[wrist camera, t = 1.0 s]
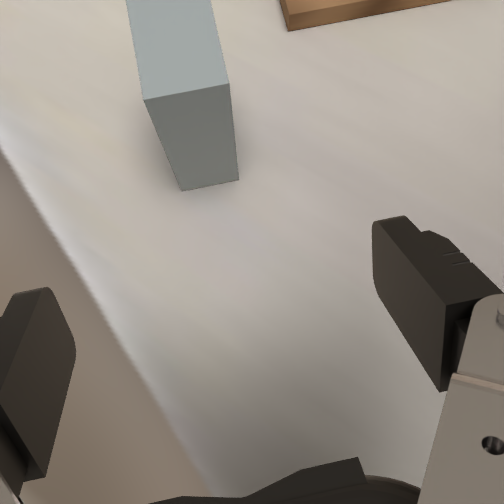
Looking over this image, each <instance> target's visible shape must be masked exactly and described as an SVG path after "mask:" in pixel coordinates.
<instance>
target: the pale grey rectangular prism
mask: <svg viewBox="0 0 504 504" xmlns="http://www.w3.org/2000/svg"><path fill="white" fill-rule="evenodd" d="M126 5H127V10H128V16H129V22H130V27H131V33H132V39H133V44H134V50H135V56H136V61H137V67H138V73H139V78H140V84H141V90H142V95H143V100H144V103H145V105H146V107H147V110H148V112H149V115H150V117H151V119H152V122H153V124H154V126H155V129H156V131H157V134H158V136H159V138H160V141H161V143H162V145H163V148H164V150H165V153H166V155H167V157H168V160H169V162H170V164H171V167H172V169H173V172H174V174H175V176H176V179H177V181H178V183H179V186H180V188H181V190H182V191H186V190H191V189H196V188H201V187H206V186H211V185H216V184H221V183H226V182H231V181H236V180H239V176H238V166H237V156H236V146H235V136H234V125H233V115H232V105H231V95H230V85H229V80H228V75H227V71H226V66H225V62H224V58H223V53H222V49H221V44H220V40H219V36H218V31H217V27H216V23H215V18H214V14H213V9H212V5H211V1H210V0H126Z"/></svg>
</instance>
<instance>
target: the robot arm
mask: <svg viewBox="0 0 504 504" xmlns="http://www.w3.org/2000/svg"><path fill="white" fill-rule="evenodd" d="M372 258H373V279H374V284H375V288H376V291H377V293H378V296H379V298H380V299H381V301H382V302H383V304H384V306H385V307H386V309H387V310H388V312H389V314H390V315H391V317H392V318H393V320H394V321H395V323H396V325H397V326H398V328H399V329H400V331H401V333H402V334H403V336H404V337H405V339H406V340H407V342H408V344H409V345H410V347H411V348H412V350H413V352H414V353H415V355H416V356H417V358H418V359H419V361H420V363H421V364H422V366H423V367H424V369H425V371H426V372H427V374H428V375H429V377H430V379H431V380H432V382H433V383H434V385H435V386H436V388H437V390H438V391H439V392H444V391H447V395H446V399H445V402H444V406H443V410H442V414H441V417H440V421H439V425H438V428H437V432H436V436H435V440H434V443H433V447H432V451H431V455H430V458H429V462H428V466H427V469H426V473H425V477H424V481H423V484H422V488H421V489H420V488H418V487H416V486H413V485H411V484H408V483H405V482H402V481H399V480H395V479H391V478H386V477H380V476H370V475H364V472H363V469H362V467H361V464H360V461H359V459H358V457H355V458H351V459H346V460H342V461H337V462H333V463H328V464H324V465H320V466H315V467H311V468H306V469H302V470H299V471H297V472H295V473H293V474H291V475H289V476H287V477H285V478H283V479H281V480H279V481H277V482H275V483H273V484H271V485H269V486H267V487H265V488H263V489H261V490H259V491H257V492H255V493H253V494H251V495H249V496H247V497H243V498H223V497H190V496H181V497H176V498H172V499H167V500H163V501H159V502H154V503H150V504H504V293H503V292H502V291H501V290H500V289H499V288H498V287H497V286H496V285H495V284H494V283H493V282H492V281H491V280H490V279H489V278H488V277H487V276H486V275H485V274H484V273H483V272H482V271H480V270H479V269H478V268H477V267H476V266H475V265H474V264H473V263H470V260H469V259H468V258H467V257H466V256H465V255H464V254H463V253H460V250H459V249H458V248H457V247H456V246H455V245H454V244H453V243H452V242H451V241H450V240H449V239H447V238H445V237H443V236H441V235H439V234H436V233H434V232H432V231H430V230H428V231H423V232H421V231H420V230H419V229H418V228H417V227H416V226H415V225H414V224H413V223H412V222H411V221H410V220H409V219H408V218H407V217H406V216H398V217H393V218H388V219H383V220H378V221H374V223H373V225H372ZM75 358H76V348H75V342H74V338H73V336H72V333H71V331H70V328H69V326H68V324H67V322H66V320H65V317H64V315H63V313H62V311H61V309H60V306H59V304H58V302H57V300H56V298H55V295H54V294H53V292H52V290H51V289H50V288H48V287H44V288H38V289H34V290H29V291H24V292H19V293H15V294H14V295H13V296H12V298H11V300H10V302H9V304H8V306H7V308H6V309H5V311H4V314H3V316H2V317H0V504H25V503H24V502H23V500H22V499H21V498H20V496H19V495H20V491H21V488H22V485H23V482H26V481H30V480H35V479H39V478H44V477H46V473H47V469H48V465H49V461H50V457H51V453H52V449H53V445H54V442H55V438H56V434H57V430H58V426H59V422H60V418H61V414H62V410H63V406H64V402H65V399H66V395H67V391H68V387H69V383H70V379H71V375H72V371H73V367H74V363H75Z"/></svg>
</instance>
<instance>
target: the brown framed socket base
mask: <svg viewBox="0 0 504 504" xmlns="http://www.w3.org/2000/svg"><path fill="white" fill-rule="evenodd" d="M444 1H450V0H280V3H281V7H282V11H283V15H284V18H285V22H286V26H287V29H288V31H293V30H298V29H303V28H308V27H314V26H319V25H324V24H329V23H335V22H340V21H345V20H350V19H355V18H361V17H366V16H371V15H376V14H382V13H387V12H392V11H397V10H403V9H408V8H413V7H418V6H424V5H429V4H434V3H439V2H444Z"/></svg>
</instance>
